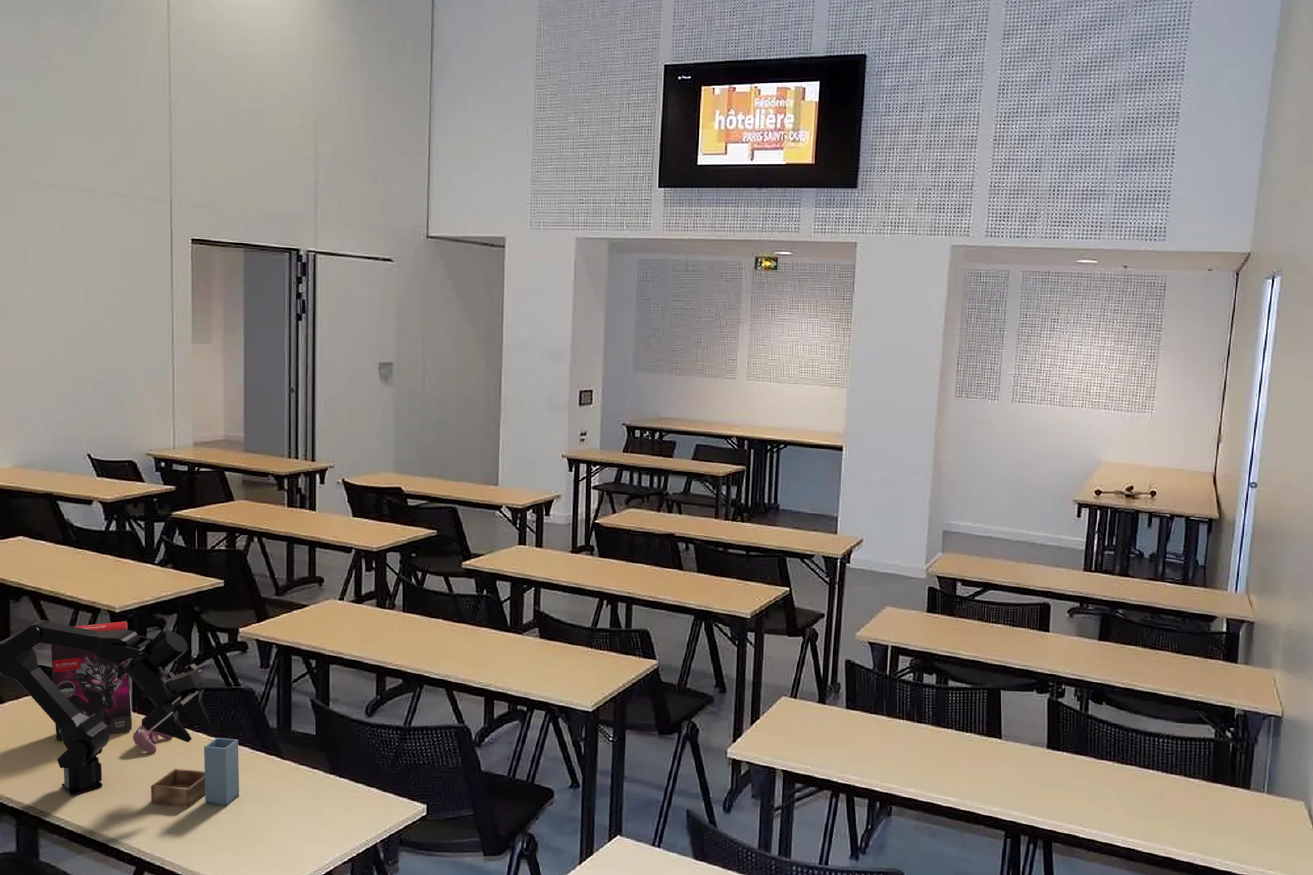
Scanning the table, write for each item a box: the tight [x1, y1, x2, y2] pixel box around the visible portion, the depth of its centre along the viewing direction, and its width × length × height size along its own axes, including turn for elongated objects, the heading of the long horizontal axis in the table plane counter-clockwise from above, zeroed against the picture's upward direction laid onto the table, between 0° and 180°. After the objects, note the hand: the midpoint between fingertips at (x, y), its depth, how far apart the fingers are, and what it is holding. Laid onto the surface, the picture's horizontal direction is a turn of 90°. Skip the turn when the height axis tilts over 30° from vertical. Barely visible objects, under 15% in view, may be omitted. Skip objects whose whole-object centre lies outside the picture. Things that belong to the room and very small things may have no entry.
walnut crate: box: [150, 768, 205, 808], centre depth 229 cm, size 9×9×4 cm
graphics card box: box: [50, 620, 133, 742], centre depth 261 cm, size 17×7×27 cm, turn 117°
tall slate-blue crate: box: [203, 737, 240, 807], centre depth 228 cm, size 5×5×13 cm
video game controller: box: [132, 724, 174, 754], centre depth 255 cm, size 10×5×7 cm, turn 178°
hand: (199, 732), depth 231 cm, fingers open, 9 cm apart
